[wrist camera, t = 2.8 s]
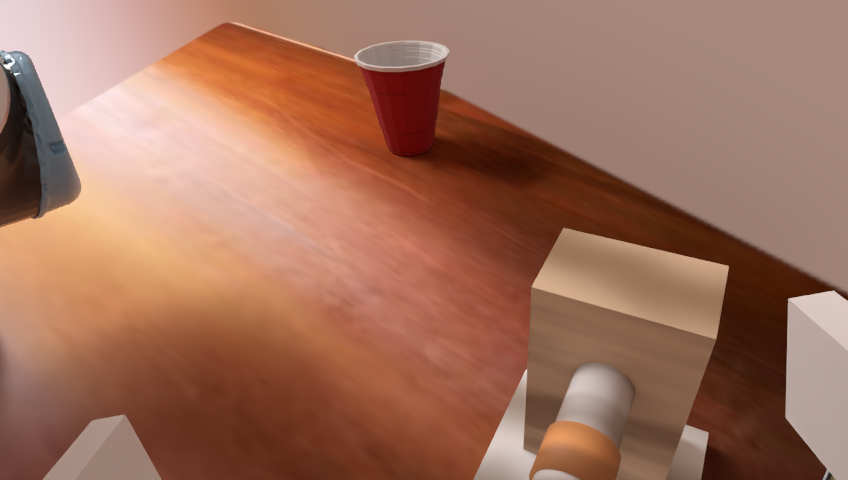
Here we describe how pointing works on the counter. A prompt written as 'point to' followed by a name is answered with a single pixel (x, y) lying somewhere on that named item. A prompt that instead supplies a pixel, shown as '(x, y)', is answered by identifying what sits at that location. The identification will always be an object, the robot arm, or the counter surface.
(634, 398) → the pipe stand
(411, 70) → the plastic cup
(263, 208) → the counter surface
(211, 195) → the counter surface
